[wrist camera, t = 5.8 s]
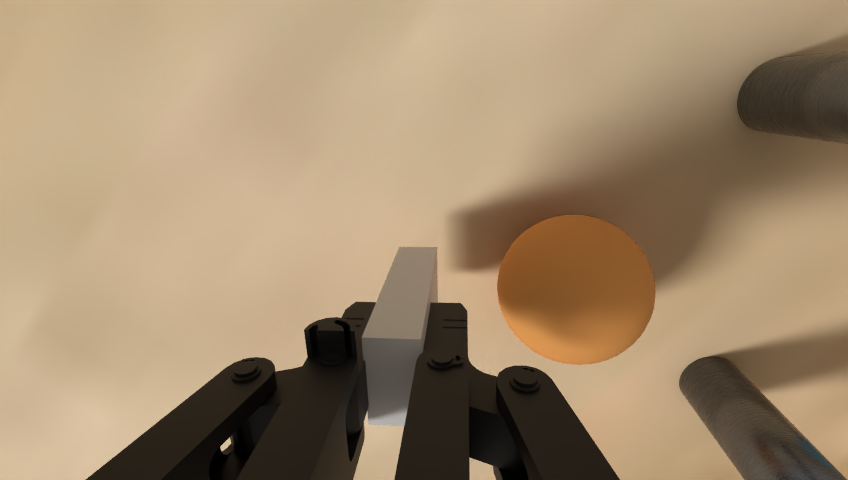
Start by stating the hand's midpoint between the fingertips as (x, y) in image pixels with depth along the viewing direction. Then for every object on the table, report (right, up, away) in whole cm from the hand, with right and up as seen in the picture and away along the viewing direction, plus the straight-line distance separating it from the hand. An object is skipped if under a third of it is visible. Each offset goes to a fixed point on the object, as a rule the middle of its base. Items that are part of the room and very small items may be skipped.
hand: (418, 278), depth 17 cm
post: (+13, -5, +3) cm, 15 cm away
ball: (+6, 0, -1) cm, 6 cm away
